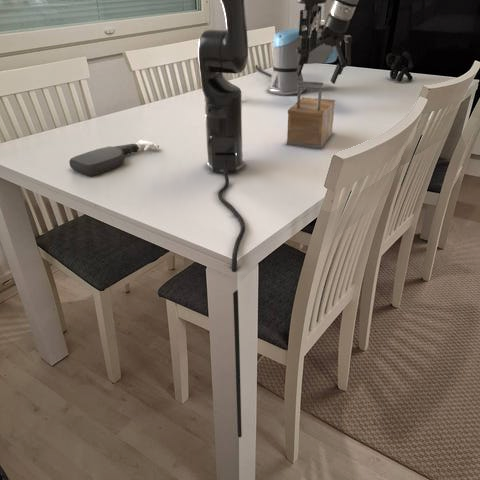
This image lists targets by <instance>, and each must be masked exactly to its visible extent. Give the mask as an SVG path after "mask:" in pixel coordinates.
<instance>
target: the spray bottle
mask: <svg viewBox="0 0 480 480" xmlns="http://www.w3.org/2000/svg"><path fill="white" fill-rule="evenodd" d="M159 148H160V145H159V144H158V143H155V142H151V141H148V140H144V139H139V140H138V141H137V142H135V143H129V144H128V143H126V144H122V145H113V146H105V147H100V148H97V149H94V150H90V151H87V152H83V153H81V154H78V155H74V156H73V157H70V159H69V161H68V162H69V167H70V168H71V169H72V170H74V171H75V172H78V173H81V174H83V175H85V176H89V177H90V176H91V177H92V176H95V175H99V174H102V173H105V172H107V171H110V170H113V169H116V168H118V167H120V166H122V165H123V164H124V163H125V158H126V156H127V155H131V154H133V153H138V151H140V150H143V151H144V152H146V151H147V150H149V149H159Z"/></svg>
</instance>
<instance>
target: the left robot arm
mask: <svg viewBox="0 0 480 480" xmlns="http://www.w3.org/2000/svg"><path fill="white" fill-rule="evenodd" d="M326 1H327V0H296V2H297V3H298V4H303V5H304V6H303V9H300V11H299V23H298V24H299V25H298V29H299V36H300V37H301V53H302V54H308V53H309V52H310V48H316V47H317V35H318V34H317V33H318V32H319V30H320V28H321V27H320V23H321V9H322V7H321V6H318V4H322V3H325V2H326ZM219 2H220V4H221V7H222V9H223V13H224V18H225V19H224V20H225V27H226V30H225V29H206V30H204V31H203V32H202V33H201V35H200V37H199V39H198V47H197V58H198V67H199V77H200V83H201V84H200V85H201V92H202V94H203V99H204V100H203V101H204V116H205V117H204V118H205V133H206V134H205V135H206V151H207V152H206V153H207V168H208V169H209V170H211V172H212V173H223V174H224V175H223V176H224V185H223V187H221V188H220V189H219V190H218V192H217V197H218V200H219V201H220V202H221V203H222V204H223V205H224V206H226V207H227V208H228V209H229V210H230V211H231V213H232V214H233V215H234V216H235V217H236V219H237V220H238V222H239V226H240V231H239V233H238V235H237V237H236V239H235V242H234V246H233V250H232V256H231V272H232V273H236V272H237V271H238V267H237V266H238V253H239V248H240V244H241V241H242V239H243V237H244V235H245V231H246V224H245V220H244V219H243V217H242V216H241V214H240V213H239V212H238V211H237V210H236V208H235V207H234V206H233V205H232V204H231V203H229V201H227V200H225V198H224V197H223V196H222V194H223V193H224V192H225V191H226V190H227V189H228V187H229V183H230V179H229V173H237V171H239V170H240V169H242V168H243V166H244V159H243V157H244V156H243V155H244V153H243V114H242V113H243V109H242V108H243V106H242V105H243V104H242V103H243V102H242V101H243V100H242V99H243V98H242V96H243V95H242V90H241V88H240V87H239V86H237V85H235V84H233V83H232V82H230V81H229V80H228V79H226V77H225V76H224V74H231V75H238V74H242V73H243V72H244V71H245V69H246V68H247V67H246V66H247V64H248V57H249V41H248V29H247V18H246V6H245V0H219ZM316 20H317V22H316ZM232 297H233V298H232V299H233V300H232V301H233V327H234V355H235V357H234V359H235V360H234V361H235V390H236V415H237V416H236V420H237V421H236V422H237V423H236V424H237V437H238V438H240V439H241V438H242V437H243V434H242V431H243V430H242V396H241V395H242V393H241V392H242V391H241V352H240V351H241V349H240V317H239V313H240V312H239V290H238V289H236V290H235V291H234V292H233V293H232Z"/></svg>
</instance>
